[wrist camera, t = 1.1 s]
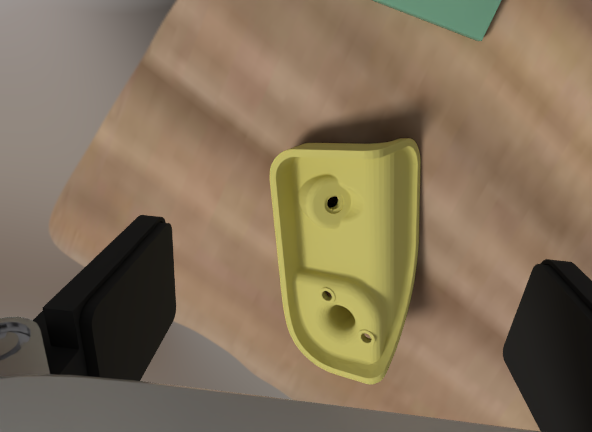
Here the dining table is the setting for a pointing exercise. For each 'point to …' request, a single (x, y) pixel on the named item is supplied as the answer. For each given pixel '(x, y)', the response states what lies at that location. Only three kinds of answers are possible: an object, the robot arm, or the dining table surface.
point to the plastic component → (347, 250)
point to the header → (451, 14)
